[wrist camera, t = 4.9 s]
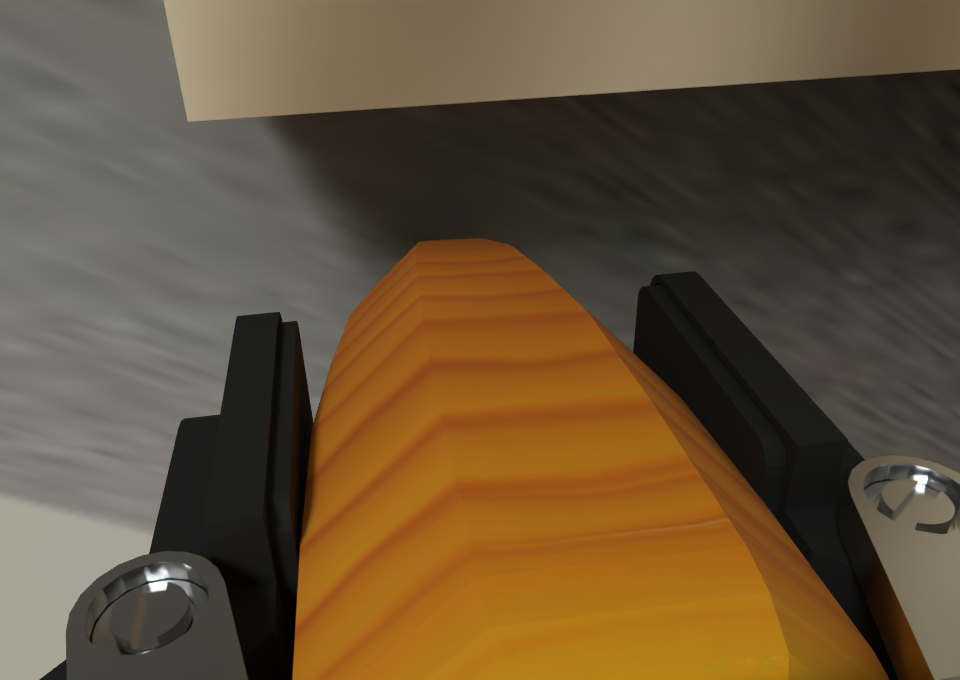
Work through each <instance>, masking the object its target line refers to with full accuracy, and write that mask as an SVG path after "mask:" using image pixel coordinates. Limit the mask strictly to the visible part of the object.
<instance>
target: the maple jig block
mask: <svg viewBox="0 0 960 680" xmlns="http://www.w3.org/2000/svg"><path fill="white" fill-rule="evenodd" d="M164 5H165V10H166V15H167V20H168V25H169V30H170V35H171V40H172V45H173V50H174V55H175V60H176V65H177V70H178V75H179V80H180V85H181V90H182V95H183V100H184V105H185V110H186V115H187V120H188V122H190V121H205V120H219V119H234V118H249V117H264V116H278V115H293V114H308V113H322V112H337V111H352V110H367V109H381V108H396V107H411V106H426V105H440V104H455V103H470V102H485V101H499V100H514V99H529V98H543V97H558V96H573V95H588V94H602V93H617V92H632V91H647V90H661V89H676V88H691V87H706V86H720V85H735V84H750V83H764V82H779V81H794V80H809V79H823V78H838V77H853V76H868V75H882V74H897V73H912V72H927V71H941V70H956V69H960V0H164Z"/></svg>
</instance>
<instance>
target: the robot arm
mask: <svg viewBox="0 0 960 680" xmlns="http://www.w3.org/2000/svg"><path fill="white" fill-rule="evenodd" d="M633 353H634V354H635V355H636V356H637V357H638V358H639V359H640V360H641V361H642V362H643V363H644V364H646V365H647V366H648V367H649V368H650V369H651V370H652V371H653V372H654V373H655V374H656V375H657V376H658V377H659V378H661V379H662V380H663V381H664V382H665V383H666V384H667V385H668V386H669V387H670V388H671V389H672V390H673V391H674V392H675V393H677V394H678V395H679V396H680V397H681V398H682V400H683V401H684V402H685V403H686V405H687V406H688V407H689V408H690V410H691V411H692V412H693V413H694V415H695V416H696V417H697V418H698V420H699V421H700V422H701V423H702V425H703V426H704V427H705V428H706V430H707V431H708V432H709V434H710V435H711V436H712V437H713V439H714V440H715V441H716V442H717V444H718V445H719V446H720V447H721V449H722V450H723V451H724V452H725V454H726V455H727V456H728V457H729V459H730V460H731V461H732V462H733V464H734V465H735V466H736V468H737V469H738V470H739V471H740V473H741V474H742V475H743V477H744V478H745V479H746V481H747V482H748V483H749V484H750V486H751V487H752V488H753V490H754V491H755V492H756V493H757V495H758V496H759V497H760V499H761V500H762V501H763V502H764V503H765V504H766V506H767V507H768V508H769V510H770V511H771V513H772V514H773V515H774V517H775V518H776V519H777V521H778V522H779V523H780V525H781V526H782V527H783V529H784V530H785V532H786V533H787V534H788V536H789V537H790V538H791V540H792V541H793V542H794V544H795V545H796V546H797V548H798V549H799V551H800V552H801V553H802V555H803V556H804V557H805V559H806V560H807V561H808V563H809V564H810V565H811V567H812V568H813V570H814V571H815V572H816V574H817V575H818V576H819V578H820V579H821V580H822V582H823V583H824V584H825V586H826V587H827V589H828V590H829V591H830V593H831V594H832V595H833V597H834V598H835V599H836V601H837V602H838V603H839V605H840V606H841V607H842V609H843V610H844V612H845V613H846V614H847V616H848V617H849V618H850V620H851V621H852V622H853V624H854V625H855V626H856V628H857V629H858V631H859V632H860V633H861V635H862V636H863V637H864V639H865V640H866V641H867V643H868V644H869V645H870V647H871V648H872V650H873V651H874V653H875V654H876V656H877V658H878V660H879V662H880V663H881V665H882V667H883V669H884V671H885V672H886V674H887V676H888V678H889V680H960V474H959V473H957V472H955V471H953V470H951V469H949V468H947V467H944V466H942V465H940V464H938V463H934V462H931V461H927V460H924V459H920V458H916V457H908V456H900V455H889V456H877V457H874V458H871V459H868V460H864V459H863V457H862V456H861V455H860V454H859V453H858V452H857V451H856V450H855V449H854V447H853V446H852V445H851V444H850V443H849V442H848V439H847V438H846V437H845V436H844V435H843V434H842V433H841V431H840V430H839V429H838V428H837V427H836V426H835V425H834V424H833V423H832V421H831V420H830V419H829V418H828V417H827V416H826V415H825V414H824V413H823V411H822V410H821V409H820V408H819V407H818V406H817V405H816V404H815V403H814V401H813V400H812V399H811V398H810V397H809V396H808V395H807V394H806V393H805V391H804V390H803V389H802V388H801V387H800V386H799V385H798V384H797V383H796V382H795V380H794V379H793V378H792V377H791V376H790V375H789V374H788V373H787V372H786V370H785V369H784V368H783V367H782V366H781V365H780V364H779V363H778V362H777V360H776V359H775V358H774V357H773V356H772V355H771V354H770V353H769V352H768V350H767V349H766V348H765V347H764V346H763V345H762V344H761V343H760V342H759V340H758V339H757V338H756V337H755V336H754V335H753V334H752V333H751V332H750V330H749V329H748V328H747V327H746V326H745V325H744V324H743V323H742V322H741V321H740V319H739V318H738V317H737V316H736V315H735V314H734V313H733V312H732V311H731V309H730V308H729V307H728V306H727V305H726V304H725V303H724V302H723V301H722V299H721V298H720V297H719V296H718V295H717V294H716V293H715V292H714V291H713V289H712V288H711V287H710V286H709V285H708V284H707V283H706V282H705V281H704V279H703V278H702V277H701V276H700V275H699V274H698V273H696V272H684V273H673V274H663V275H655V276H654V277H653V279H652V281H651V284H650V286H643V287H642V288H641V289H640V291H639V295H638V304H637V316H636V328H635V340H634V351H633ZM312 427H313V418H312V412H311V405H310V399H309V392H308V385H307V379H306V372H305V366H304V359H303V352H302V346H301V339H300V333H299V327H298V323H297V321H292V322H282V318H281V314H280V312H274V313H264V314H254V315H244V316H237V318H236V323H235V329H234V335H233V341H232V347H231V353H230V359H229V365H228V371H227V377H226V383H225V389H224V395H223V401H222V407H221V413H220V415H213V416H204V417H195V418H186V419H183V420H182V421H181V423H180V426H179V428H178V433H177V437H176V441H175V445H174V450H173V454H172V458H171V462H170V467H169V471H168V475H167V480H166V484H165V488H164V492H163V497H162V501H161V505H160V510H159V514H158V518H157V522H156V527H155V531H154V535H153V539H152V544H151V548H150V552H149V554H147V555H143V556H140V557H137V558H135V559H132V560H129V561H127V562H124V563H122V564H119V565H117V566H116V567H114V568H113V569H111V570H110V571H108V572H107V573H105V574H103V575H102V576H100V577H99V578H97V579H96V580H95V581H94V582H93V583H92V584H91V585H90V586H89V587H88V588H87V589H86V590H85V591H84V592H83V593H82V594H81V595H80V597H79V598H78V600H77V602H76V603H75V605H74V607H73V609H72V610H71V612H70V614H69V620H68V624H67V629H66V658H67V659H66V660H65V661H64V662H62V663H61V664H59V665H58V666H57V667H56V668H54V669H53V670H52V671H50V672H49V673H48V674H46V675H45V676H44V677H42V678H41V679H40V680H292V679H293V661H294V643H295V626H296V608H297V591H298V573H299V556H300V543H301V533H302V523H303V513H304V503H305V493H306V483H307V473H308V463H309V453H310V443H311V433H312Z"/></svg>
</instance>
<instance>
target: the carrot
mask: <svg viewBox="0 0 960 680" xmlns="http://www.w3.org/2000/svg"><path fill="white" fill-rule="evenodd" d="M292 680H889V678H888V676H887V674H886V672H885V671H884V669H883V667H882V665H881V663H880V662H879V660H878V658H877V656H876V654H875V653H874V651H873V650H872V648H871V647H870V645H869V644H868V643H867V641H866V640H865V639H864V637H863V636H862V635H861V633H860V632H859V631H858V629H857V628H856V626H855V625H854V624H853V622H852V621H851V620H850V618H849V617H848V616H847V614H846V613H845V612H844V610H843V609H842V607H841V606H840V605H839V603H838V602H837V601H836V599H835V598H834V597H833V595H832V594H831V593H830V591H829V590H828V589H827V587H826V586H825V584H824V583H823V582H822V580H821V579H820V578H819V576H818V575H817V574H816V572H815V571H814V570H813V568H812V567H811V565H810V564H809V563H808V561H807V560H806V559H805V557H804V556H803V555H802V553H801V552H800V551H799V549H798V548H797V546H796V545H795V544H794V542H793V541H792V540H791V538H790V537H789V536H788V534H787V533H786V532H785V530H784V529H783V527H782V526H781V525H780V523H779V522H778V521H777V519H776V518H775V517H774V515H773V514H772V513H771V511H770V510H769V508H768V507H767V506H766V504H765V503H764V502H763V501H762V500H761V499H760V497H759V496H758V495H757V493H756V492H755V491H754V490H753V488H752V487H751V486H750V484H749V483H748V482H747V481H746V479H745V478H744V477H743V475H742V474H741V473H740V471H739V470H738V469H737V468H736V466H735V465H734V464H733V462H732V461H731V460H730V459H729V457H728V456H727V455H726V454H725V452H724V451H723V450H722V449H721V447H720V446H719V445H718V444H717V442H716V441H715V440H714V439H713V437H712V436H711V435H710V434H709V432H708V431H707V430H706V428H705V427H704V426H703V425H702V423H701V422H700V421H699V420H698V418H697V417H696V416H695V415H694V413H693V412H692V411H691V410H690V408H689V407H688V406H687V405H686V403H685V402H684V401H683V400H682V398H681V397H680V396H679V395H678V394H677V393H675V392H674V391H673V390H672V389H671V388H670V387H669V386H668V385H667V384H666V383H665V382H664V381H663V380H662V379H661V378H659V377H658V376H657V375H656V374H655V373H654V372H653V371H652V370H651V369H650V368H649V367H648V366H647V365H646V364H644V363H643V362H642V361H641V360H640V359H639V358H638V357H637V356H636V355H635V354H634V353H633V352H632V351H631V350H630V349H628V348H627V347H626V346H625V345H624V344H623V343H622V342H621V341H620V340H619V339H618V338H617V337H616V336H614V335H613V334H612V333H611V332H610V331H609V330H608V329H607V328H606V327H605V326H604V325H603V324H601V323H600V322H599V321H598V320H597V319H596V318H595V317H594V316H593V315H592V314H591V313H590V312H588V311H587V310H586V309H585V308H584V307H583V306H582V305H581V304H580V303H579V302H578V301H576V300H575V299H574V298H573V297H572V296H571V295H570V294H569V293H568V292H567V291H566V290H565V289H563V288H562V287H561V286H560V285H559V284H558V283H557V282H556V281H555V280H554V279H553V278H552V277H550V276H549V275H548V274H547V273H546V272H545V271H544V270H542V269H541V268H540V267H539V266H537V265H536V264H535V263H534V262H532V261H531V260H530V259H528V258H527V257H526V256H525V255H523V254H522V253H521V252H519V251H518V250H517V249H516V248H514V247H513V246H512V245H509V244H505V243H501V242H497V241H492V240H488V239H484V238H468V239H449V240H430V241H419V242H418V243H417V244H416V245H415V246H414V247H413V248H412V249H411V250H410V251H409V252H408V253H407V254H406V255H405V256H404V257H403V258H402V259H401V260H400V261H399V262H398V263H397V264H396V265H395V266H394V267H393V268H392V269H391V270H390V271H389V272H388V273H387V274H386V275H385V276H384V277H383V278H382V279H381V280H380V281H379V282H378V283H377V284H376V285H375V286H374V287H373V289H372V290H371V291H370V292H369V293H368V295H367V296H366V297H365V298H364V299H363V301H362V302H361V303H360V304H359V305H358V307H357V308H356V309H355V310H354V311H353V313H352V314H351V315H350V317H349V319H348V322H347V325H346V327H345V330H344V332H343V335H342V337H341V340H340V343H339V345H338V348H337V350H336V353H335V355H334V358H333V361H332V363H331V366H330V370H329V373H328V376H327V380H326V383H325V387H324V390H323V393H322V397H321V400H320V403H319V407H318V410H317V414H316V417H315V420H314V424H313V427H312V433H311V443H310V453H309V463H308V473H307V483H306V493H305V503H304V513H303V523H302V533H301V543H300V556H299V573H298V591H297V608H296V626H295V643H294V661H293V679H292Z"/></svg>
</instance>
